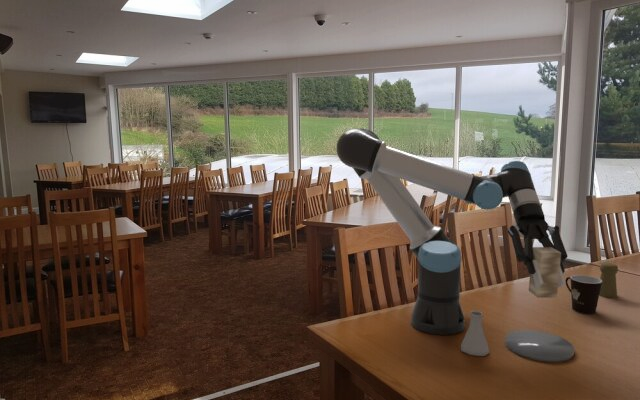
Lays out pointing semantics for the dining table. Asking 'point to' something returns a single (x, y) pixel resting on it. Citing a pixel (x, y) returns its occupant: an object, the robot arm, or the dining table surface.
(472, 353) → the flask
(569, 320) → the dining table surface
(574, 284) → the coffee mug
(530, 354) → the plate
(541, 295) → the birch block
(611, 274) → the cork
